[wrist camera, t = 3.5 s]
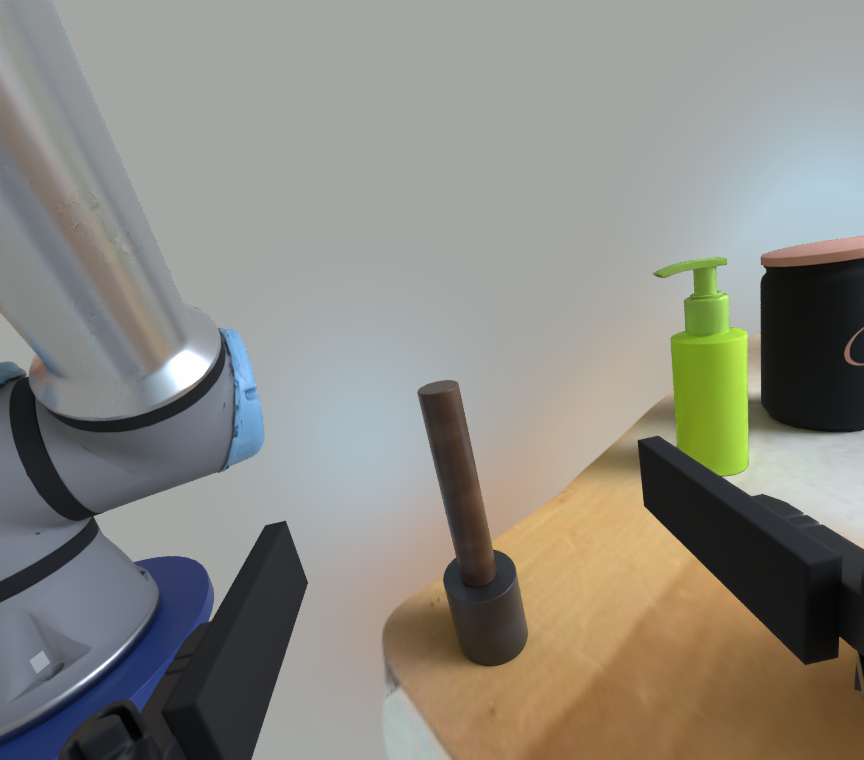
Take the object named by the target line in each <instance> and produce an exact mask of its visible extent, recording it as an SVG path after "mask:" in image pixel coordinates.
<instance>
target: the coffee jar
mask: <svg viewBox="0 0 864 760" xmlns="http://www.w3.org/2000/svg"><path fill="white" fill-rule="evenodd" d="M761 265H763V266H764V267H765V268H766V273H765V275H764V276H763V277H762V280H761V404H762V405H763V407H764V408H765V409H766V410H767V412H768V413H769V414H770V415H771V416H772V418H774V419H776V420H778V421H780V422H782V423H784V424H788V425H791V426H794V427H799V428H805V429H810V430H819V431H834V432H836V431H856V430H863V429H864V236H858V237H851V238H842V239H835V240H828V241H821V242H815V243H809V244H803V245H798V246H793V247H788V248H783V249H779V250H775V251H772V252H768V253H766V254H763V255H762V256H761Z"/></svg>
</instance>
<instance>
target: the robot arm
mask: <svg viewBox="0 0 864 760" xmlns="http://www.w3.org/2000/svg"><path fill="white" fill-rule="evenodd" d="M0 313H1V314H2V315H3V316H4V317H5V318H6V319H7V321H8V322H9V323H10V324H11V325H12V326H13V328H14V329H15V330H16V331H17V332H18V333H19V335H20V336H21V337H22V338H23V339H24V340H25V341H26V343H27V344H28V345H29V346H30V347H31V348H32V350H33V351H34V352H35V353H36V355H35V357H34V359H33V361H32V363H31V366H30V370H29V377H26V375H27V374H26V372H25V370H23V369H21V368H19V367H18V365H17V364H15V363H13V362H2V363H0V746H2V745H4V744H6V743H8V742H10V741H13V740H14V739H16V738H18V737H20V736H22V735H24V734H26V733H28V732H30V731H31V730H33V729H35V728H37V727H38V726H40V725H42V724H43V723H45V722H47V721H48V720H50V719H51V718H53V717H55V716H56V715H58V714H59V713H61V712H62V711H64V710H65V709H67V708H68V707H69V706H71V705H72V704H74V703H75V702H76V701H78V700H79V699H81V698H82V697H83V696H85V695H86V694H87V693H88V692H90V691H91V690H92V689H93V688H95V687H96V686H97V685H98V684H100V683H101V682H102V681H103V680H104V679H105V678H107V677H108V676H109V675H110V674H111V673H112V672H113V671H114V670H115V669H116V668H118V667H119V666H120V665H121V664H122V663H123V662H124V661H125V660H126V659H127V658H128V657H129V655H130V654H131V653H132V652H133V651H134V650H135V649H136V648H137V647H138V645H139V644H140V643H141V642H142V641H143V639H144V638H145V637H146V635H147V634H148V633H149V631H150V630H151V628H152V627H153V625H154V623H155V621H156V620H157V617H158V615H159V613H160V610H161V606H162V595H161V592H160V590H159V588H158V586H157V584H156V582H155V580H154V579H153V578H152V576H151V575H150V574H149V572H148V571H146V570H145V569H144V568H142V567H141V566H138V565H135V564H134V563H133V562H132V561H131V559H130V558H129V557H128V556H127V555H126V554H125V553H124V552H122V551H121V550H120V549H119V548H118V547H117V546H116V545H115V544H113V543H112V542H111V541H110V540H109V539H107V538H106V537H105V536H104V535H103V534H102V532H101V530H100V528H99V526H98V525H97V523H96V521H95V519H94V517H93V516H95V515H98V514H101V513H104V512H105V511H108V510H111V509H114V508H117V507H119V506H122V505H124V504H128V503H130V502H133V501H136V500H139V499H142V498H145V497H147V496H150V495H153V494H156V493H159V492H161V491H165V490H168V489H170V488H173V487H176V486H179V485H181V484H185V483H188V482H190V481H193V480H196V479H199V478H201V477H205V476H208V475H210V474H213V473H216V472H218V473H219V472H222V471H225V470H226V469H228V468H229V467H230V466H231V465H233V464H236V463H239V462H241V461H244V460H246V459H248V458H250V457H252V456H254V455H255V454H256V453H258V451H259V450H260V449H261V447H262V445H263V442H264V424H263V416H262V411H261V405H260V401H259V397H258V394H257V393H256V385H255V378H254V374H253V371H252V367H251V364H250V361H249V357H248V354H247V351H246V349H245V346H244V343H243V341H242V339H241V337H240V335H239V334H238V332H236V331H235V330H233V329H222V328H217V326H216V324H215V323H214V322H213V320H212V319H211V318H210V317H209V316H208V315H207V314H206V313H204V312H203V311H202V310H200V309H198V308H196V307H194V306H192V305H189V304H187V303H183V302H182V299H181V297H180V295H179V292H178V290H177V288H176V285H175V283H174V281H173V278H172V276H171V274H170V271H169V269H168V267H167V265H166V262H165V260H164V258H163V256H162V253H161V251H160V248H159V246H158V244H157V241H156V239H155V237H154V235H153V232H152V230H151V228H150V225H149V223H148V221H147V218H146V216H145V214H144V211H143V209H142V207H141V204H140V202H139V200H138V198H137V195H136V193H135V191H134V188H133V186H132V184H131V181H130V179H129V177H128V174H127V172H126V170H125V168H124V165H123V163H122V161H121V158H120V156H119V154H118V151H117V149H116V147H115V144H114V142H113V140H112V137H111V135H110V133H109V131H108V128H107V126H106V124H105V122H104V119H103V117H102V114H101V112H100V110H99V108H98V105H97V103H96V101H95V98H94V96H93V94H92V91H91V89H90V87H89V85H88V82H87V80H86V77H85V75H84V73H83V71H82V68H81V66H80V64H79V61H78V59H77V57H76V54H75V52H74V50H73V48H72V45H71V43H70V40H69V38H68V36H67V34H66V31H65V29H64V27H63V24H62V22H61V20H60V17H59V15H58V13H57V11H56V8H55V6H54V3H53V1H52V0H0ZM638 449H639V459H640V469H641V479H642V490H643V500H644V506H645V507H646V508H647V509H648V510H649V511H650V512H651V513H652V514H653V515H654V516H655V517H656V518H657V519H658V520H659V521H660V522H661V523H662V524H663V525H664V526H665V527H666V528H667V529H668V530H669V531H670V532H671V533H672V534H673V535H674V536H675V537H676V538H677V539H678V540H679V541H680V542H681V543H682V544H683V545H684V546H685V547H686V548H687V549H688V550H689V551H690V552H691V553H692V554H693V555H694V556H695V557H696V558H697V559H698V560H699V561H700V562H701V563H702V564H703V565H704V566H705V567H706V568H707V569H708V570H709V571H710V572H711V573H712V574H713V575H714V576H715V577H716V578H717V579H718V580H720V581H721V582H722V583H723V584H724V585H725V586H726V587H727V588H728V589H729V590H730V591H731V592H732V593H733V594H734V595H735V596H736V597H737V598H738V599H739V600H740V601H741V602H742V603H743V604H744V605H745V606H746V607H747V608H748V609H749V610H750V611H751V612H752V613H753V614H754V615H755V616H756V617H757V618H758V619H759V620H760V621H761V622H762V623H763V624H764V625H765V626H766V627H767V628H768V629H769V630H770V631H771V632H772V633H773V634H774V635H775V636H776V637H777V638H778V639H779V640H780V641H781V642H782V643H783V644H784V645H785V646H786V647H787V648H788V649H789V650H790V651H791V652H792V653H793V654H794V655H795V656H796V657H797V658H798V659H799V660H800V661H801V662H802V663H803V664H805V665H808V664H812V663H817V662H821V661H825V660H830V659H834V658H838V649H839V636H840V637H841V638H842V639H843V640H845V641H846V642H847V643H848V644H849V645H851V646H852V647H853V648H854V649H855V650H856V651H857V659H856V675H855V690H858V691H862V695H863V700H864V549H862V548H860V547H859V546H857V545H855V544H854V543H852V542H850V541H849V540H847V539H846V538H844V537H842V536H841V535H839V534H837V533H836V532H834V531H832V530H831V529H829V528H827V527H826V526H824V525H823V524H822V525H820V524H819V522H818V521H816V520H814V519H813V518H811V517H809V516H808V515H804V513H803V512H801V511H800V510H798V509H796V508H795V507H793V506H791V505H790V504H788V503H786V502H784V501H781V500H779V499H776V498H773V497H770V496H767V495H764V494H761V495H756V496H752V497H751V496H750V495H748V494H747V493H745V492H744V491H742V490H741V489H739V488H738V487H736V486H735V485H733V484H731V483H730V482H728V481H727V480H725V479H724V478H722V477H721V476H719V475H718V474H716V473H715V472H713V471H712V470H710V469H708V468H707V467H705V466H704V465H702V464H701V463H699V462H698V461H696V460H695V459H693V458H692V457H690V456H689V455H687V454H685V453H684V452H682V451H681V450H679V449H678V448H676V447H675V446H673V445H672V444H670V443H669V442H667V441H666V440H664V439H662V438H661V437H659V436H655V437H651V438H646V439H642V440H638ZM307 584H308V582H307V579H306V576H305V573H304V570H303V568H302V565H301V562H300V559H299V556H298V554H297V551H296V548H295V545H294V542H293V540H292V537H291V534H290V531H289V528H288V526H287V523H286V521H283V522H278V523H274V524H270V525H265V527H264V529H263V530H262V532H261V534H260V536H259V538H258V539H257V541H256V543H255V545H254V547H253V548H252V550H251V552H250V554H249V556H248V557H247V559H246V561H245V563H244V564H243V566H242V568H241V570H240V571H239V573H238V575H237V577H236V579H235V580H234V582H233V584H232V586H231V588H230V589H229V591H228V593H227V595H226V596H225V598H224V600H223V602H222V603H221V605H220V607H219V609H218V611H217V613H216V614H215V616H214V618H213V620H212V621H210V622H205V623H201V624H199V625H198V626H197V628H196V629H195V630H194V631H193V632H192V633H191V634H190V635H189V636H188V637H187V638H186V639H185V640H184V641H183V643H182V645H181V646H180V648H179V650H178V651H177V653H176V655H175V656H174V660H173V661H172V662H171V663H170V664H169V666H168V668H167V669H166V671H165V675H164V676H162V678H161V679H160V681H159V683H158V684H157V686H156V688H155V689H154V691H153V693H152V694H151V696H150V697H149V699H148V701H147V702H146V704H145V706H144V707H143V709H142V711H141V712H140V713H139V711H138V709H137V707H136V705H135V704H134V703H133V702H132V700H124V699H122V700H119V701H116V702H113V703H110V704H108V705H106V706H104V707H103V708H101V709H99V710H97V711H96V712H95V713H93V714H92V715H91V716H90V717H88V718H87V719H86V720H84V721H83V722H82V723H81V724H80V725H79V726H78V727H77V728H76V729H75V730H74V732H73V733H72V734H71V735H70V736H69V737H68V739H67V740H66V742H65V743H64V745H63V747H62V748H61V750H60V753H59V757H58V760H251V759H252V756H253V752H254V749H255V746H256V743H257V740H258V737H259V734H260V731H261V728H262V724H263V721H264V718H265V715H266V712H267V709H268V706H269V702H270V699H271V696H272V693H273V690H274V687H275V684H276V681H277V678H278V674H279V671H280V668H281V665H282V662H283V659H284V656H285V653H286V649H287V646H288V643H289V640H290V637H291V634H292V631H293V628H294V625H295V621H296V618H297V615H298V612H299V609H300V606H301V603H302V600H303V596H304V593H305V590H306V587H307Z"/></svg>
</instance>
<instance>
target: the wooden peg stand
mask: <svg viewBox="0 0 864 760" xmlns="http://www.w3.org/2000/svg"><path fill="white" fill-rule="evenodd" d="M418 397H419V401H420V406H421V410H422V414H423V418H424V423H425V427H426V431H427V435H428V439H429V444H430V448H431V452H432V456H433V460H434V465H435V469H436V473H437V478H438V482H439V486H440V490H441V494H442V498H443V503H444V507H445V511H446V515H447V519H448V524H449V528H450V532H451V536H452V541H453V545H454V549H455V553H456V558H455V559H454V560H453V561H452V562H451V563H450V564H449V565H448V567H447V568H446V570H445V573H444V578H443V582H444V587H445V591H446V595H447V599H448V603H449V607H450V611H451V615H452V619H453V623H454V627H455V631H456V634H457V638H458V642H459V646H460V648H461V650H462V651H463V653H464V654H465V655H466V656H467V657H468V658H469V659H471V660H472V661H474V662H476V663H479V664H482V665H488V666H494V665H500V664H504V663H506V662H509V661H511V660H512V659H514V658H515V657H516V656H517V655H518V654H519V653H520V652H521V651H522V650H523V648H524V646H525V644H526V641H527V637H528V629H527V624H526V619H525V613H524V608H523V603H522V598H521V593H520V588H519V582H518V577H517V572H516V568H515V565H514V563H513V561H512V560H511V559H510V558H509V557H508V556H507V555H506V554H504V553H502V552H500V551H497V550H493V548H492V543H491V538H490V533H489V528H488V524H487V519H486V514H485V510H484V505H483V501H482V496H481V490H480V485H479V481H478V476H477V471H476V466H475V461H474V457H473V452H472V447H471V442H470V437H469V432H468V428H467V423H466V418H465V413H464V409H463V404H462V399H461V394H460V389H459V384H458V382H456V381H452V380H445V381H438V382H434V383H430V384H427V385H425V386H423V387H421V388H420V389H419V390H418Z"/></svg>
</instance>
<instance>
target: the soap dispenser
mask: <svg viewBox="0 0 864 760" xmlns="http://www.w3.org/2000/svg"><path fill="white" fill-rule="evenodd" d="M721 265H727V258H720V257H715V258H705V259H697V260H690V261H685V262H680V263H677V264H674V265H671V266H668V267H665V268H663V269H661V270H658V271H656V272H654V273H653V274H654V275H655V276H657V277H661V278H666V277H668V276H671V275H673V274H676V273H679V272H683V271H688V270H693V272H694V294H692V295H690V297H688V298H686V299H685V300H684V310H685V329H686V331H683V332H680V333H677V334H675V335H673V336H672V337H671V352H672V368H673V384H674V400H675V416H676V432H677V448H678V449H679V450H681V451H682V452H684V453H685V454H687V455H689V456H690V457H692V458H693V459H695V460H696V461H698V462H699V463H701V464H702V465H704V466H705V467H707V468H708V469H710V470H712V471H713V472H715V473H716V474H718V475H719V476H728V475H734V474H738V473H740V472H743V471H744V470H746V469H747V467H748V465H749V448H748V367H747V332H746V331H745V330H743V329H739V328H733V327H729V296H728V294H725V293H722V292H721V291H717V277H716V266H721Z"/></svg>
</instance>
